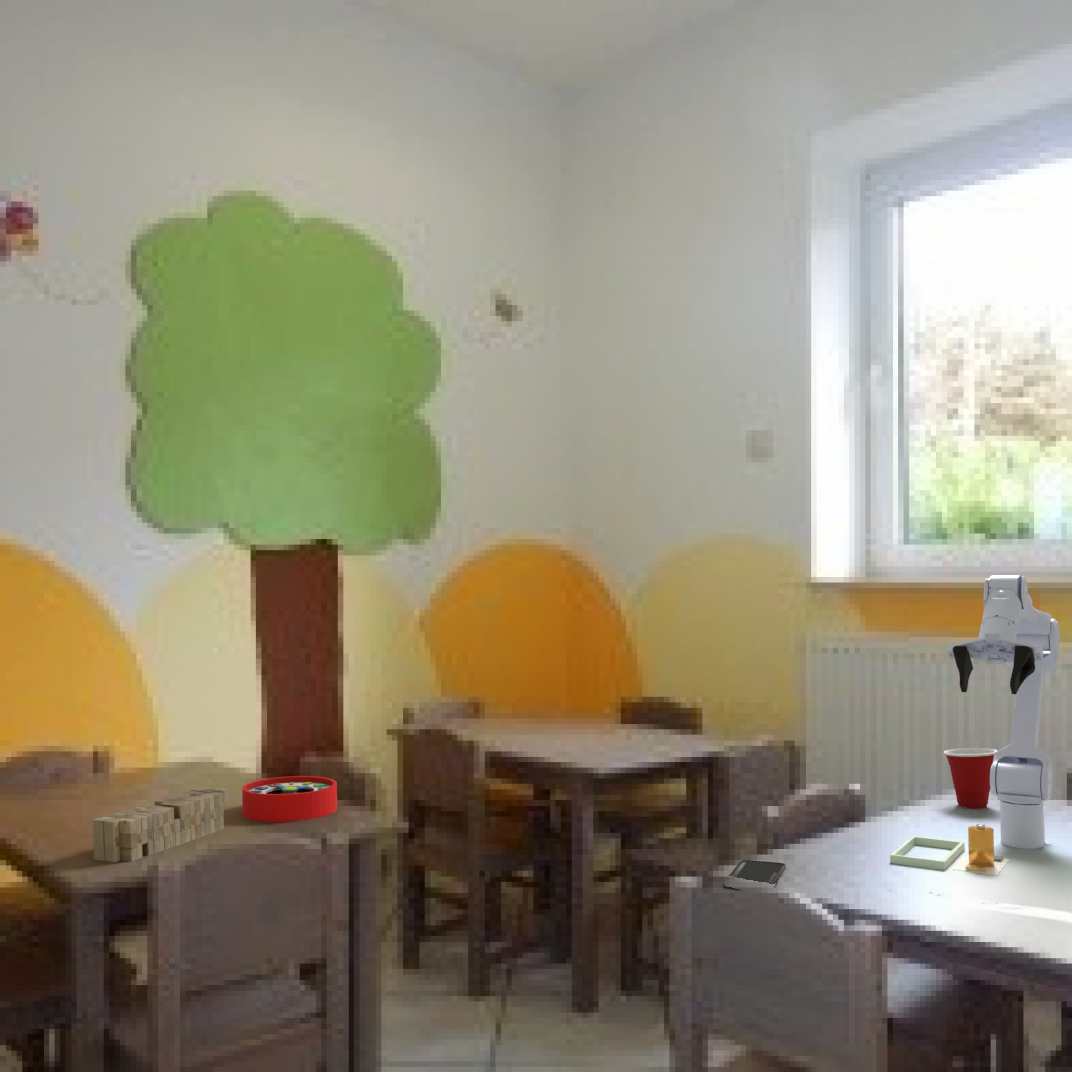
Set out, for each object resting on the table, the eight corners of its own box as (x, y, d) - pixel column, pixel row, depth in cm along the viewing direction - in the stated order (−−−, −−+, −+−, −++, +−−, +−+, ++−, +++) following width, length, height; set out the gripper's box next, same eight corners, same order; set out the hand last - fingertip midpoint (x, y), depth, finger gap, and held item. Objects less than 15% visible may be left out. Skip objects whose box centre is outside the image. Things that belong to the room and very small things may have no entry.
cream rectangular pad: (966, 860, 198) (966, 850, 198) (1009, 866, 194) (1009, 855, 194) (952, 876, 188) (952, 865, 188) (997, 882, 185) (997, 871, 185)
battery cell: (971, 859, 194) (970, 821, 194) (996, 862, 192) (995, 823, 192) (966, 865, 191) (965, 826, 191) (991, 868, 188) (990, 828, 189)
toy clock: (267, 799, 230) (226, 784, 246) (268, 828, 230) (226, 811, 246) (353, 785, 243) (309, 772, 259) (354, 812, 243) (309, 798, 258)
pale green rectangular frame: (912, 849, 206) (912, 835, 206) (964, 856, 201) (964, 842, 201) (890, 869, 193) (890, 854, 193) (945, 876, 188) (944, 861, 188)
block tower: (125, 869, 204) (230, 827, 230) (124, 823, 204) (229, 786, 230) (92, 865, 207) (199, 824, 234) (91, 819, 207) (198, 783, 233)
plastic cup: (961, 798, 248) (959, 743, 248) (1008, 806, 240) (1007, 749, 240) (934, 805, 241) (933, 749, 241) (982, 814, 233) (981, 755, 233)
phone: (723, 882, 184) (742, 859, 198) (723, 889, 184) (742, 865, 198) (771, 887, 181) (787, 863, 195) (771, 894, 181) (787, 869, 195)
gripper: (949, 611, 192) (936, 670, 184) (1041, 612, 184) (1032, 673, 176) (957, 641, 196) (944, 699, 187) (1048, 642, 188) (1039, 703, 179)
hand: (987, 689), depth 182 cm, fingers open, 7 cm apart
